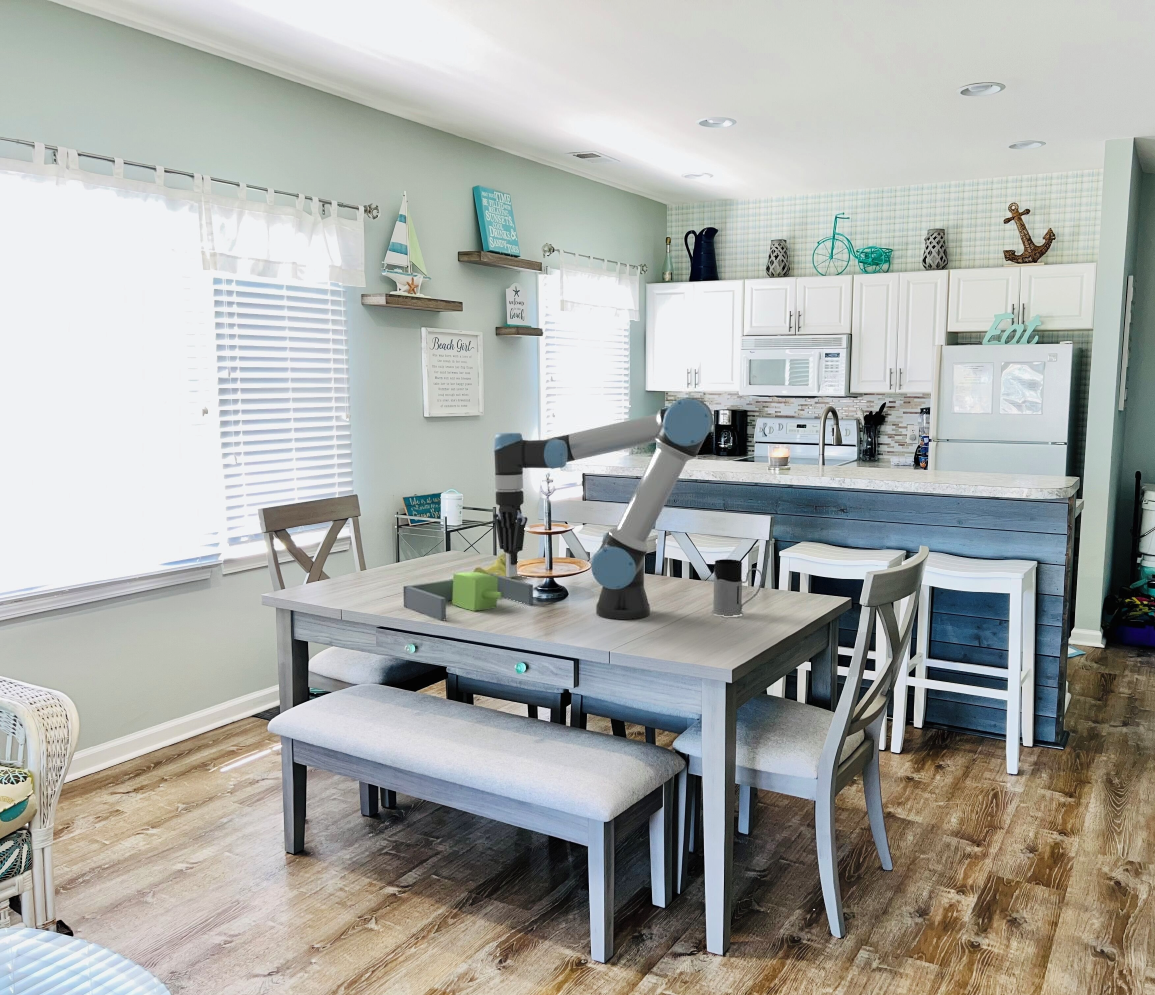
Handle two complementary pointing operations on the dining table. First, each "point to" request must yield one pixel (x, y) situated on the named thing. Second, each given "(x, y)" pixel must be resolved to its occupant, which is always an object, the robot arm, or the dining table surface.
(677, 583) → the dining table surface
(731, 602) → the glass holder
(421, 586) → the grey low frame
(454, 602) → the gearbox
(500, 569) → the yellow crumpled cloth
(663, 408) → the robot arm
